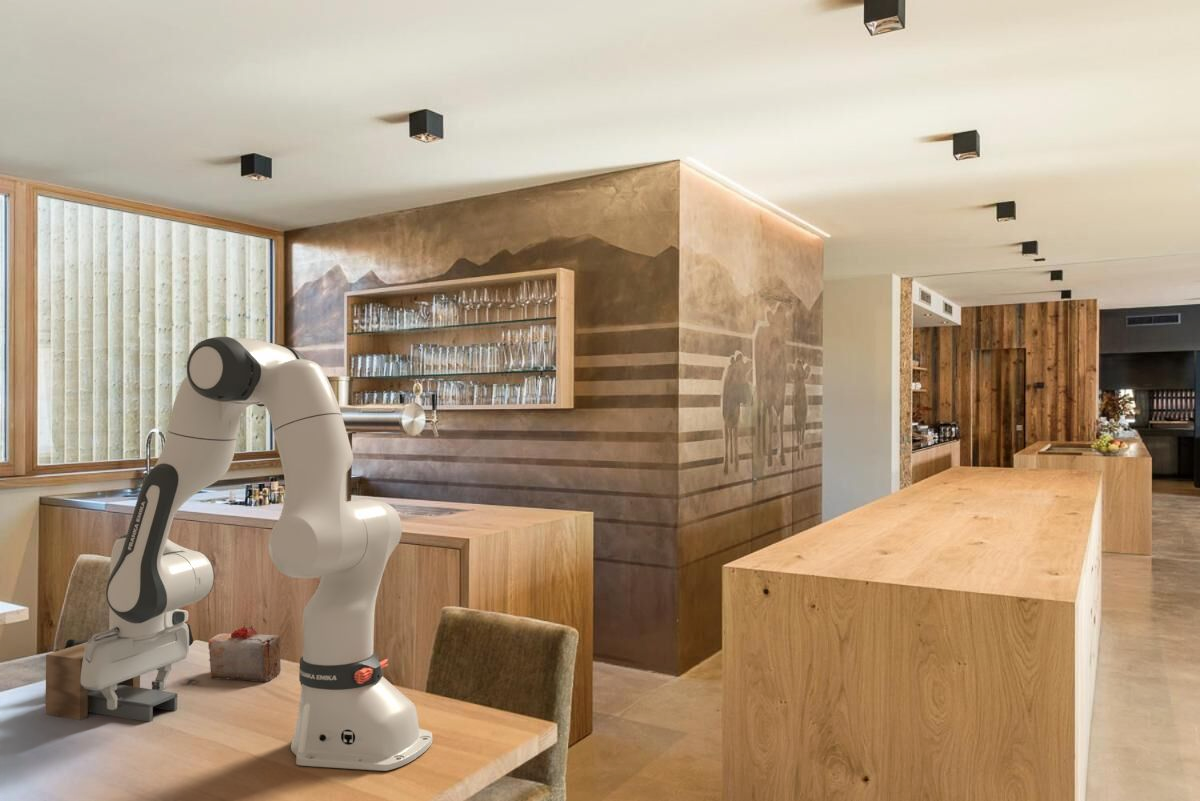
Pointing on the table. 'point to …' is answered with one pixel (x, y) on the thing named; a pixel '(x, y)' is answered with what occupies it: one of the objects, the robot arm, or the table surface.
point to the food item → (245, 655)
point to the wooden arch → (69, 683)
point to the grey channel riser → (133, 702)
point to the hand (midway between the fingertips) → (137, 699)
